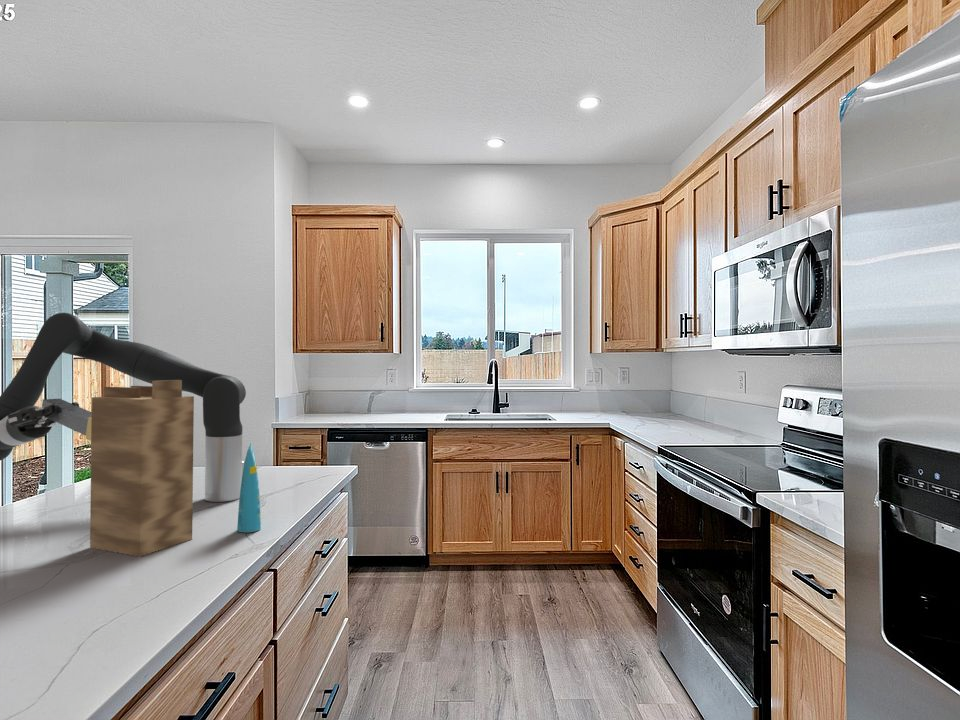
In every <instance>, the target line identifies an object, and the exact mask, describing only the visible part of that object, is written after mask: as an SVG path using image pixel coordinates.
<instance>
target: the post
mask: <svg viewBox="0 0 960 720" xmlns="http://www.w3.org/2000/svg"><path fill="white" fill-rule="evenodd" d="M194 404H195V396H192V395H191V396H189V395H183V390H182V380H162V381H152V384H151V385H130V386H127V387H126V386H125V387H124V386H103V396H94V397H91V412H92V421H91V441H90V444H91V445H90V510H89V512H90V518H89V519H90V521H89V524H90V525H89V532H90V533H89V548H91V549H95V548H96V550H100V549H101V550H102V551H106V550H108V551H107V552H111V551H113V552H112V553H117V552H119V553H118V554H122V553H124V554H123V555H127V554H129V555H128V556H133V555H134V557H138V556H141V557H143V555H144V556H147V555H149V554H148V553H150V554H152V553H151V552H153V553H155V551H156V552H158V550H159V551H162V550H165V549H167V547H168V548H171V547H173V546H176V544H177V545H178V544H182V543H185V542H188V541H191V540H193V513H194V512H193V509H194V508H193V507H194V506H193V504H194V503H193V501H194V500H193V498H194V497H193V495H194V493H193V491H194V420H195V419H194V418H195V417H194V415H195V414H194V413H195V412H194V409H195V406H194ZM170 546H171V547H170ZM164 548H165V549H164ZM161 549H162V550H161ZM146 554H147V555H146Z"/></svg>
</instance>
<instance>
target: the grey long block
mask: <svg viewBox="0 0 960 720" xmlns="http://www.w3.org/2000/svg"><path fill="white" fill-rule="evenodd" d="M52 404H58V405H59V406H58V407H59V413H58V414H56V415H53V416H51V417H48V418H49V419H51V420H53V421H55V422H57V424H59V425H62V426H64V427H66V428H67V429H68V428H69V429H70V430H73V431H75V432H76V433H79V434H81V435H82V436H83V435H84V437H85V438H84V439H85V440H88V441H89V442H91V421H92V411H89V410H87V409H86V408H83V407H81V406H79V407H78V406H76V405H73V404H71V402H69V401H66V400H65V399H62V398H49V399H48V398H47V399H42V404H41V407H47V406H50V405H52Z"/></svg>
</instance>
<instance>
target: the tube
mask: <svg viewBox="0 0 960 720" xmlns="http://www.w3.org/2000/svg"><path fill="white" fill-rule="evenodd" d="M246 451H247V452H246V456H245V459H244V462H245V463H244V469H243V475H242V481H241V489H240V498H239V499H238V500H239V501H238V511H237V525H236V526H237V527H236V528H237V529H236V530H237V531H238V533H254V532H259V530H261V529H262V527H261V525H262V521H261V519H262V517H261V501H260V500H261V497H260V486H259V485H260V484H259V476H258V475H259V474H258V470H257V469H258V468H257V463H256V458H255V452H254V447H253V442H252V441H250V444H249V446H248V447H247V450H246Z"/></svg>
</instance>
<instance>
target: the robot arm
mask: <svg viewBox="0 0 960 720" xmlns="http://www.w3.org/2000/svg"><path fill="white" fill-rule="evenodd" d="M62 354H68V355H71V356H75V357H79V358H84V359H86V360H90V361H93V362H94V361H95V362H98V363H101V364H103V365H106V366H107V367H109V368H111V369H113V370H116V371H118V372H120V373H121V374H124V375H127V376H129V377H132V378H134V379H136V380H139V381H143V382H144V383H148V384H151V385H152V381H162V380H182V392H183V391H184V392H188V393H190V394H194V395H196V396H199V397H201V398H202V421H203V427H204V430H205V432H204V433H205V437H204V438H205V441H204V442H205V443H204V444H205V446H204V447H205V448H204V449H205V450H204V451H205V452H204V453H205V454H204V457H205V458H204V459H205V460H204V501H207V502H211V503H212V502H215V503H216V502H217V503H218V502H219V503H220V502H223V503H224V502H231V501H235V500H239V499H240V489H241V481H242V475H243V469H244V463H245V460H243V424H242V421H241V414H240V413H241V412H240V411H241V407H240V405H241V404H242V403H243V402H244V400H245V398H246V395H247V391H246V388H245V387H246V386H245V385H244V384H243V382H242V381H241V380H239V379H238V378H237V377H235V376H231V375H227V374H222V373H218V372H215V371H213V370H208V369H205V368H202V367H199V366H197V365H194V364H193V363H191V362H188V361H186V360H184V359H182V358H179V357H178V356H175V355H174V354H172V353H171V354H170V353H168V352H166V351H163V350H161V349H159V348H156V347H153V346H150V345H149V344H148V345H147V344H144V343H140V342H135V341H127V340H121V339H117V338H113V337H111V336H109V335H106V334H104V333H102V332H99V330H98V331H97V330H96V329H94V328H92V327H90V326H88V325H87V324H86V323H85V322H83V321H82V320H81V319H80V318H79V317H77V316H76V315H74V314H72V313H69V312H59V313H55V314H53V315H51V316H49V317H48V318H47V319H46V320H45V321H44V323H43V325H42V326H41V328H40V330H39V332H38V334H37V336H36V337H35V340H34V342H33V344H32V346H31V348H30V349H29V351H28V353H27V355H26V357H25V358H24V360H23V362H22V364H21V365H20V368H19V369H18V370H17V372H16V373H15V376H14V377H13V378H12V379H11V381H10V382H9V384H8V386H6V388H5V389H4V391H3V392H2V394H1V395H0V461H2V460H4V459H6V458H7V457H8V456H9V455H10V454H11V453H12V451H13V450H14V448H15V447H17V446H20V445H25V444H28V443H30V442H33V441H36V440H37V439H40V438H42V437H45V436H46V435H48V433H49V432H50V431H51V430H52V427H53V426H56V424H58V423H57V422H55V421H53V420H51V419H49V418H48V417H51V416H53V415H56V414H58V413H59V407H58V406H59V405H58V404H52V405H50V406H47V407H42V406H41V407H40V406H37V405H36V404H37V402H38V400H39V399H40V398H41V395H42V393H43V391H44V388H45V385H46V384H47V383H46V382H47V379H48V378H49V374H50V371H51V369H52V368H53V366H54V364H55V363H56V361H57V360H58V359H59V357H61V355H62ZM70 403H71V402H70ZM71 404H73V405H76V406H78V407H80V403H78V402H76V401H75V402H74V401H73V402H72V403H71Z"/></svg>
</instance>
